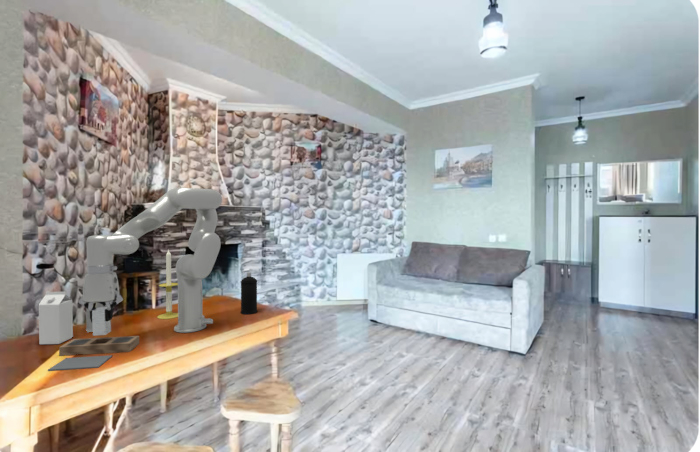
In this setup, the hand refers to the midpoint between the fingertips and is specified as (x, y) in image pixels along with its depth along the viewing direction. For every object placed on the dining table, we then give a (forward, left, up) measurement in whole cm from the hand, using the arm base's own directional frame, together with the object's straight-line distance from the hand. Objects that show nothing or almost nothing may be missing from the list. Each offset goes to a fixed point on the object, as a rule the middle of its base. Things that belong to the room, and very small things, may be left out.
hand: (101, 320), depth 125 cm
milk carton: (+21, -12, -11) cm, 27 cm away
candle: (-10, -41, -11) cm, 43 cm away
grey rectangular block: (0, 0, -5) cm, 5 cm away
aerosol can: (-47, -42, -11) cm, 64 cm away
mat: (0, +12, -11) cm, 16 cm away
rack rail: (0, 0, -11) cm, 11 cm away
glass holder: (+13, -28, -11) cm, 33 cm away
